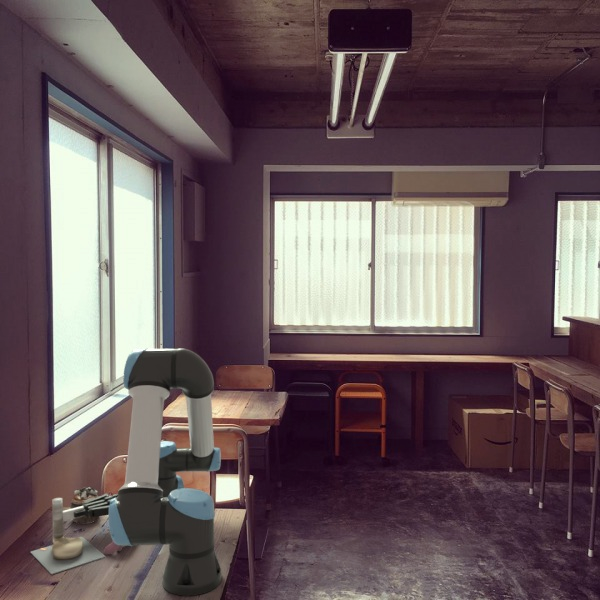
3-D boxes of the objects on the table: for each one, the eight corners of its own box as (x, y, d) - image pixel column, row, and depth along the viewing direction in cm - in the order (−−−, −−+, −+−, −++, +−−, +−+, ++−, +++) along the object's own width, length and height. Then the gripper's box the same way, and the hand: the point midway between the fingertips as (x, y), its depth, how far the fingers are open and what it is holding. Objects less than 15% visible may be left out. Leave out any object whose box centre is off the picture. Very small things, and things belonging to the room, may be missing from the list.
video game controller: (114, 561, 174) (124, 541, 173) (101, 553, 175) (111, 532, 174) (131, 546, 184) (140, 526, 183) (118, 538, 184) (127, 518, 183)
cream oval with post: (87, 553, 174) (86, 506, 174) (59, 562, 169) (58, 513, 168) (69, 539, 183) (68, 494, 182) (42, 548, 177) (41, 501, 177)
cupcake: (63, 521, 197) (63, 491, 197) (87, 510, 206) (86, 481, 205) (84, 527, 193) (84, 496, 192) (107, 516, 201) (107, 486, 201)
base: (105, 557, 173) (105, 555, 173) (51, 574, 163) (51, 573, 163) (81, 537, 186) (81, 536, 186) (30, 552, 176) (30, 551, 176)
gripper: (145, 515, 191) (69, 536, 176) (128, 502, 201) (54, 521, 186) (145, 491, 190) (68, 511, 175) (128, 480, 200) (54, 497, 185)
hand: (61, 516), depth 181 cm, fingers closed
